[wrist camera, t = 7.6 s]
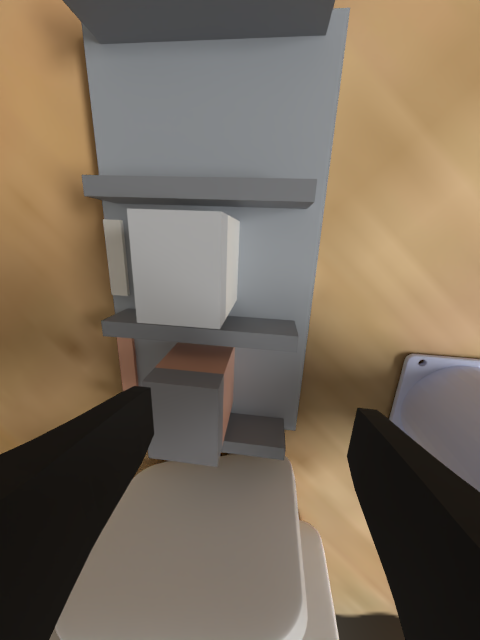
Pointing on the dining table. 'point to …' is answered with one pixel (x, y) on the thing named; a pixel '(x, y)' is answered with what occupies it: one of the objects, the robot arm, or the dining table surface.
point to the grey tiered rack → (220, 173)
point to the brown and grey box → (191, 403)
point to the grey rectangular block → (183, 266)
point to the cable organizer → (205, 560)
